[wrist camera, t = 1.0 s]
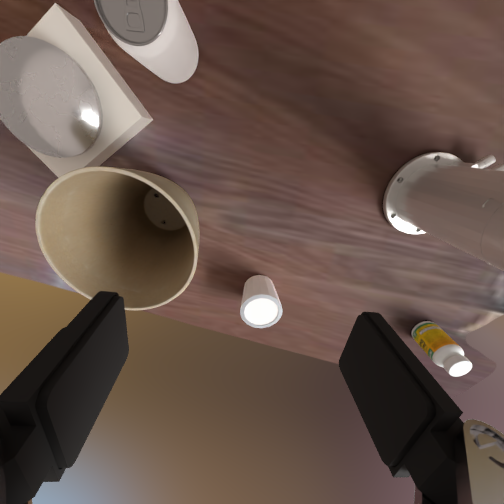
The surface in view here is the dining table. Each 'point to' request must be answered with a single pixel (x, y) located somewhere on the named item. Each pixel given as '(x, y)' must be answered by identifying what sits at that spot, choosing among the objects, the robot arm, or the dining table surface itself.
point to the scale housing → (106, 84)
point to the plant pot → (119, 234)
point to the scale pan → (47, 98)
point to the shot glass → (260, 302)
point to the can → (153, 35)
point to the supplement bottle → (441, 348)
